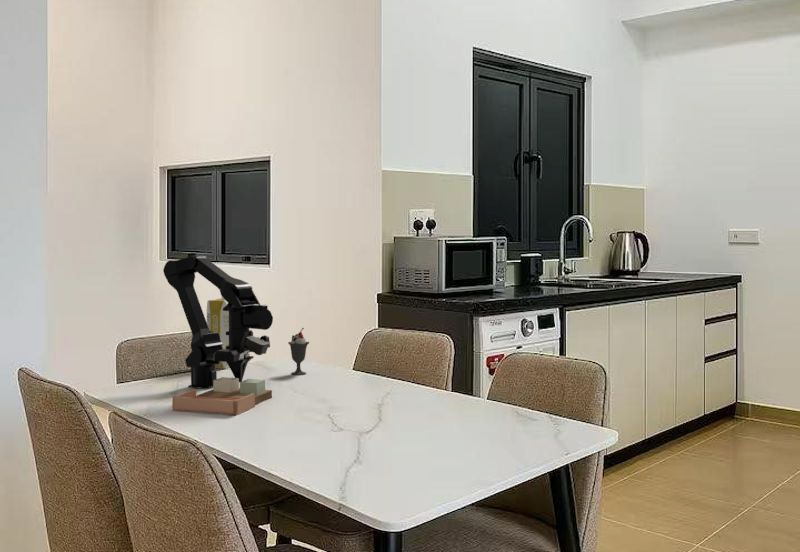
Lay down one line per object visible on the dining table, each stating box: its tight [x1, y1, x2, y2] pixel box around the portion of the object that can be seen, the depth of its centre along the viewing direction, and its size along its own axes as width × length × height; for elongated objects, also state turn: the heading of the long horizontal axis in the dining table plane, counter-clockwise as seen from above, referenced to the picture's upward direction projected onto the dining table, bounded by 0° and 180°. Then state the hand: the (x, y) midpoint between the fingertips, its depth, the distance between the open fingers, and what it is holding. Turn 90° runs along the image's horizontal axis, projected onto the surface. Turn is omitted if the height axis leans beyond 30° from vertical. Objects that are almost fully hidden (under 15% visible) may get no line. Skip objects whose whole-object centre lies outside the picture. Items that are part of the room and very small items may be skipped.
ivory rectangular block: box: [213, 376, 240, 392], centre depth 216 cm, size 5×5×3 cm
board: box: [196, 387, 273, 406], centre depth 212 cm, size 16×12×2 cm
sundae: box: [287, 327, 310, 376], centre depth 252 cm, size 7×7×15 cm
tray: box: [171, 388, 256, 416], centre depth 202 cm, size 18×10×4 cm, turn 73°
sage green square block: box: [239, 378, 266, 394], centre depth 214 cm, size 5×5×3 cm
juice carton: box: [206, 296, 230, 370], centre depth 264 cm, size 9×8×24 cm
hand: (239, 382), depth 223 cm, fingers closed
